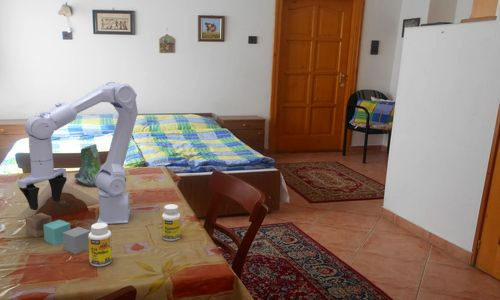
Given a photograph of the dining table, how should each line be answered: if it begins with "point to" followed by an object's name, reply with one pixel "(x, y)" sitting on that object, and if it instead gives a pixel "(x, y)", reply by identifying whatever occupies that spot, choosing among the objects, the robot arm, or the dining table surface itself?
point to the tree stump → (89, 166)
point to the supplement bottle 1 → (100, 245)
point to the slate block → (76, 240)
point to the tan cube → (37, 224)
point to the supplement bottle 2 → (171, 223)
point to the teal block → (55, 231)
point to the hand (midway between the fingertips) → (45, 205)
